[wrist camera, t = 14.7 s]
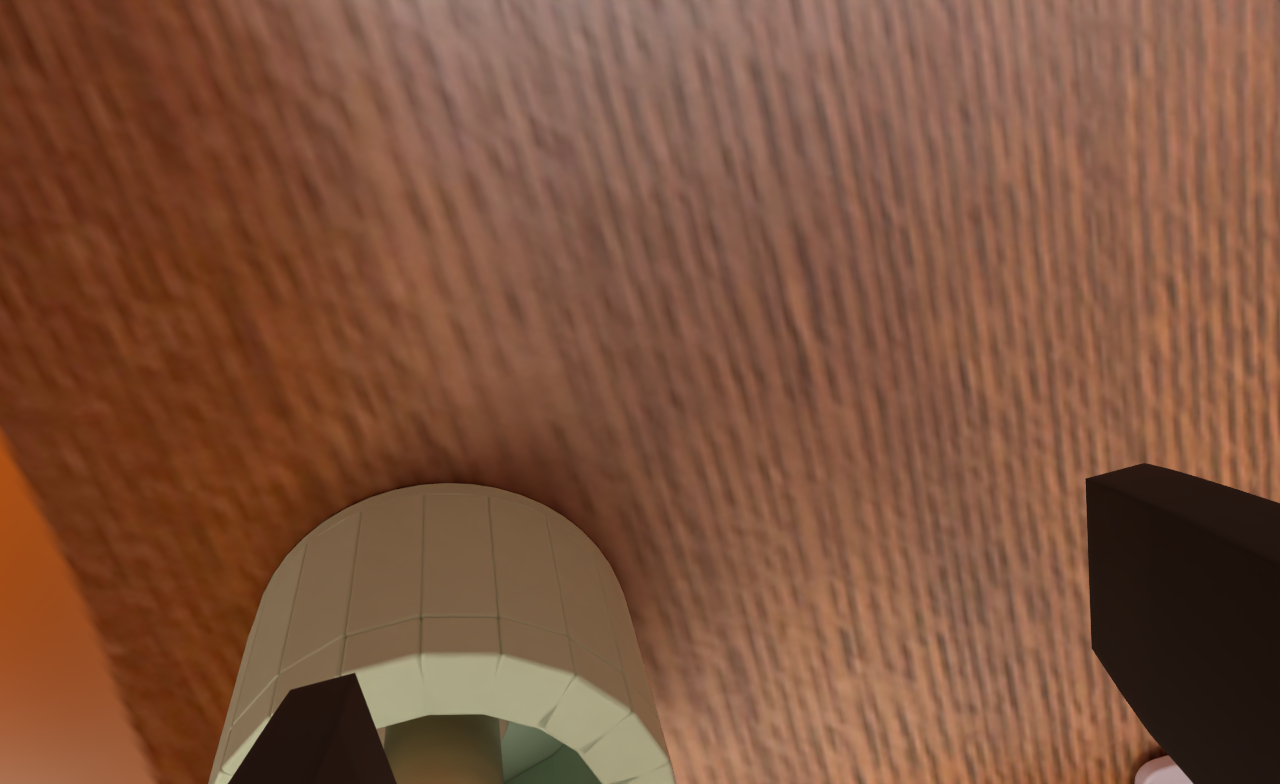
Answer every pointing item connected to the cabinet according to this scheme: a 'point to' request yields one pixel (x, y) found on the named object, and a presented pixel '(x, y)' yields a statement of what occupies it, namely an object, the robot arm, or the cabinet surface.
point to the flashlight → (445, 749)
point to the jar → (460, 633)
